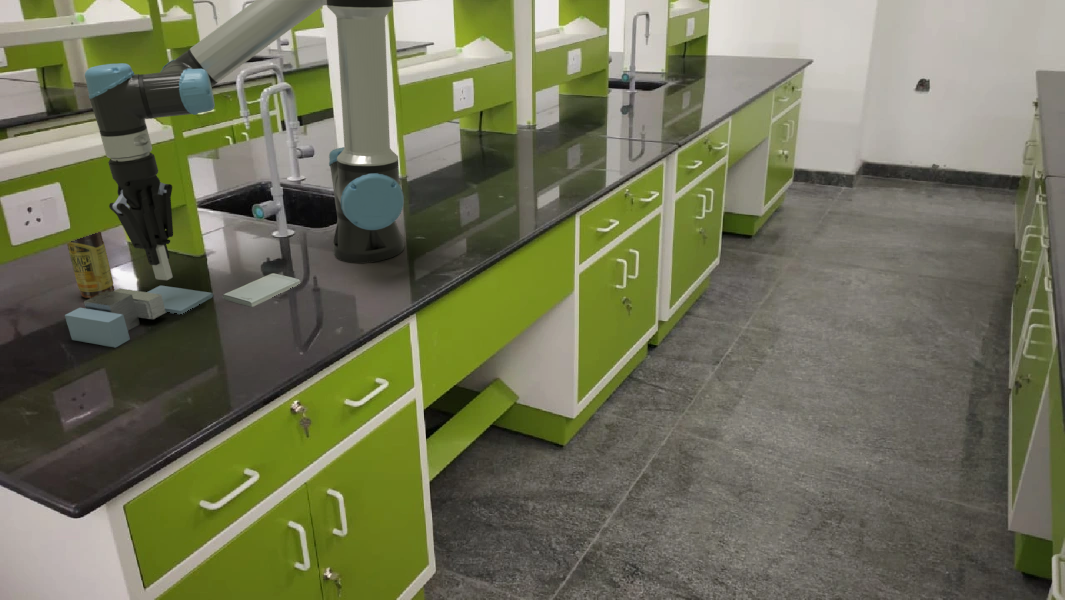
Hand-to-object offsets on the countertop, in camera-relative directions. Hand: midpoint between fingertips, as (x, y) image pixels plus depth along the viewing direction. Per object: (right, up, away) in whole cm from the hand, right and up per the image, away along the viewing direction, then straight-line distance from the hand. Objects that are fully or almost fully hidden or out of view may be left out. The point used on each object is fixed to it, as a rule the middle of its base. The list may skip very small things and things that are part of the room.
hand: (164, 278), depth 153 cm
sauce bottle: (-16, -3, +8) cm, 18 cm away
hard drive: (+17, -3, +7) cm, 18 cm away
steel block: (-6, -9, -7) cm, 13 cm away
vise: (-3, -7, -3) cm, 8 cm away
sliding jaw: (-5, -6, -4) cm, 9 cm away
